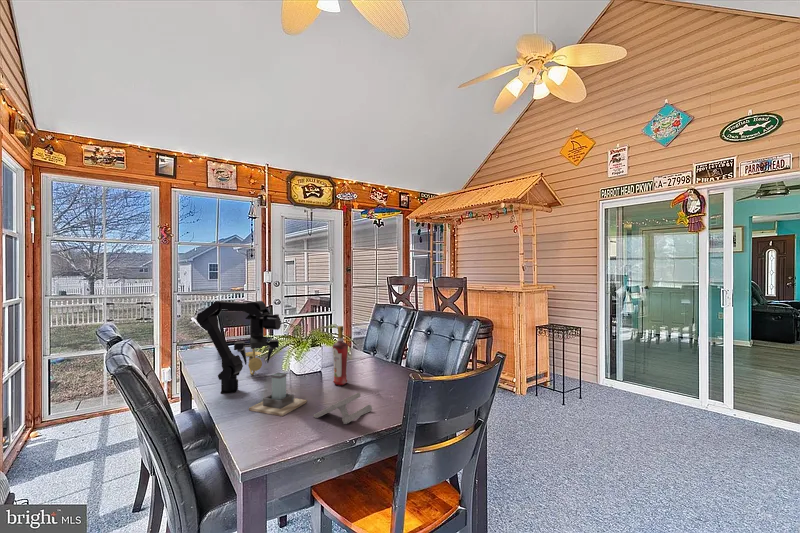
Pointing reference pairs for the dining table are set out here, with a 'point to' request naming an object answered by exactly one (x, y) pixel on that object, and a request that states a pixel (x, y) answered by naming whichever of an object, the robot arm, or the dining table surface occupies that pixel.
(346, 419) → the door handle
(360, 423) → the dining table surface
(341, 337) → the liquor
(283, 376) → the rail end post
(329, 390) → the dining table surface
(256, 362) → the wall sconce
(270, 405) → the post socket
